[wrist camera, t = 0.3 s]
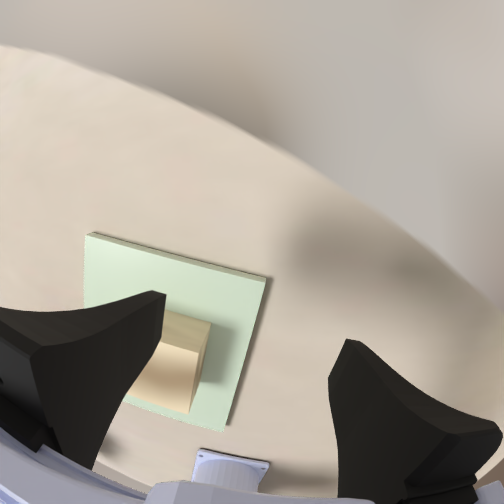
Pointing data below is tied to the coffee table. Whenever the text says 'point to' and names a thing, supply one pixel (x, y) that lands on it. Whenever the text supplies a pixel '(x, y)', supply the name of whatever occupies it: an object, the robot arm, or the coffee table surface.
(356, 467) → the robot arm
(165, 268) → the plate
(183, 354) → the maple base brick
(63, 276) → the coffee table surface
